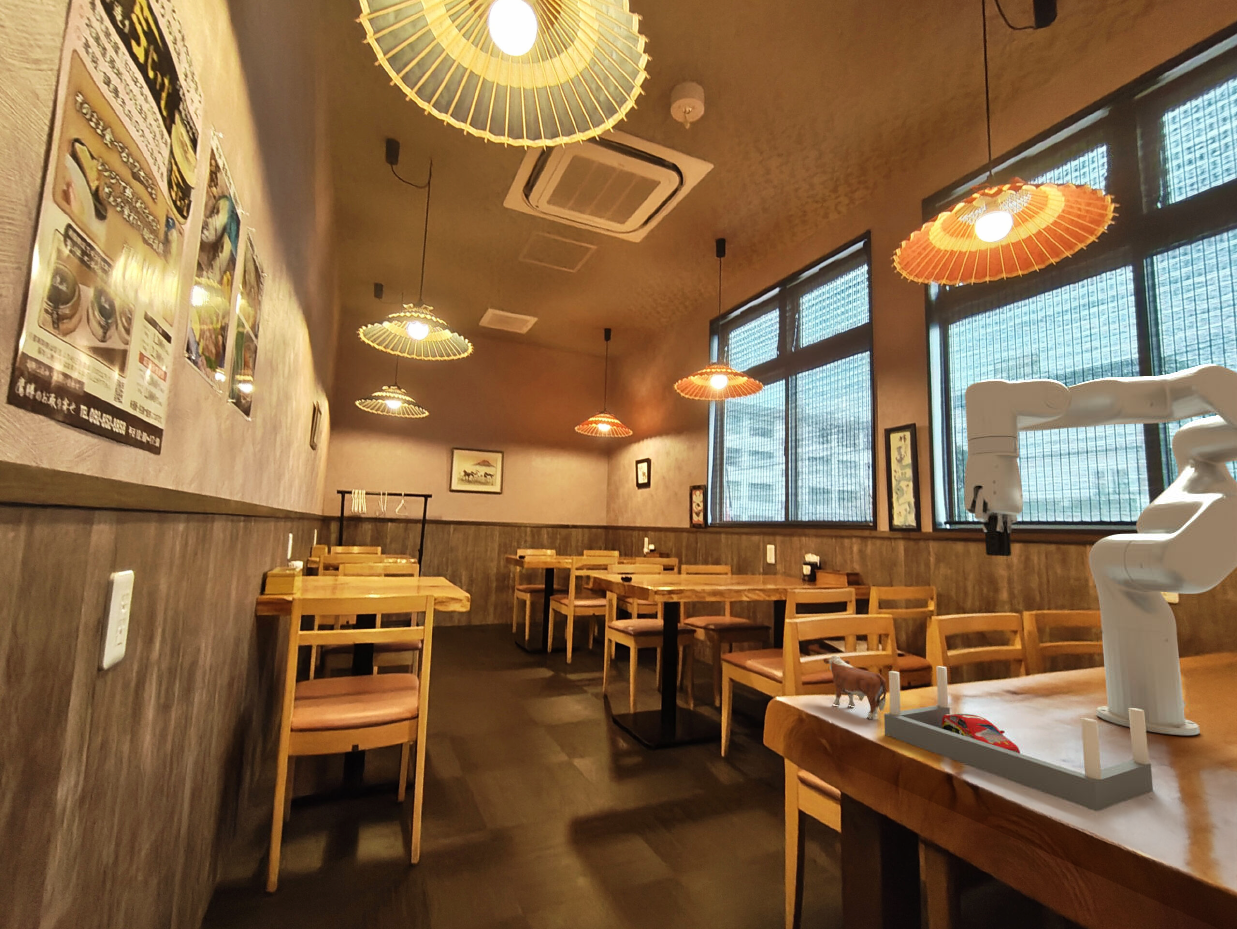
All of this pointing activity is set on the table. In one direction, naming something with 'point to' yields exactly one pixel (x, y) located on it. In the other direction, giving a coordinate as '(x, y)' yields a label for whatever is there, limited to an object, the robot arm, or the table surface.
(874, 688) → the bull figurine
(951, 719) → the race car
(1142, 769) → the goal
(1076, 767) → the table surface
